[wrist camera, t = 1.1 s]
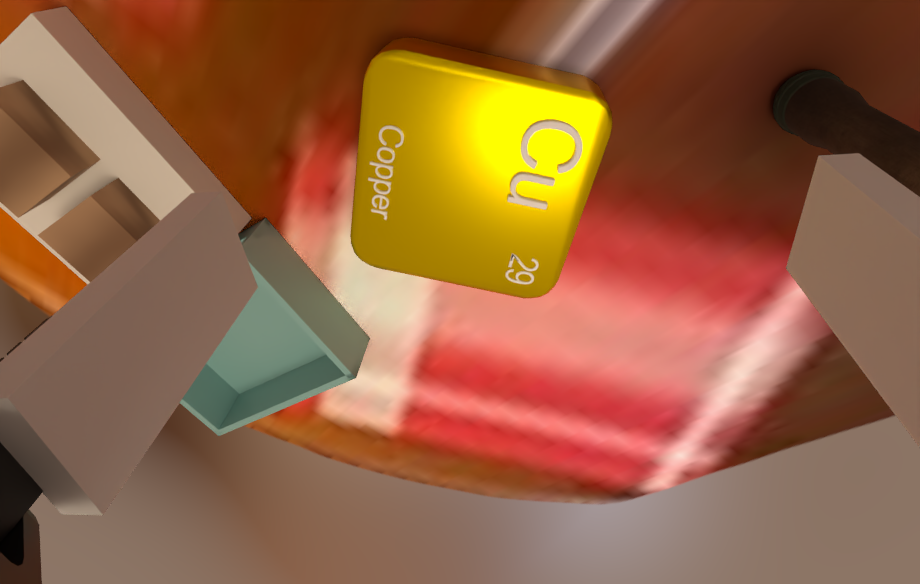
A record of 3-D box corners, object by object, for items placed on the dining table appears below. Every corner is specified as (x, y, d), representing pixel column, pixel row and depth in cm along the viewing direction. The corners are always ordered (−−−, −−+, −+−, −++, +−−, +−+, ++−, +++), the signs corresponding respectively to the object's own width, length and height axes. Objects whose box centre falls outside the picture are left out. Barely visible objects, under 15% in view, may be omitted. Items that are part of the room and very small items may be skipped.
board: (-48, 117, 39) (-86, 130, 37) (66, 6, 34) (31, 13, 32) (136, 288, 47) (115, 309, 44) (251, 218, 42) (235, 236, 39)
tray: (133, 297, 48) (97, 333, 43) (265, 217, 42) (238, 250, 38) (241, 396, 54) (218, 435, 49) (369, 338, 48) (355, 377, 44)
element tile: (381, 28, 34) (363, 43, 30) (613, 80, 34) (625, 102, 31) (361, 234, 42) (345, 267, 39) (547, 273, 43) (550, 309, 39)
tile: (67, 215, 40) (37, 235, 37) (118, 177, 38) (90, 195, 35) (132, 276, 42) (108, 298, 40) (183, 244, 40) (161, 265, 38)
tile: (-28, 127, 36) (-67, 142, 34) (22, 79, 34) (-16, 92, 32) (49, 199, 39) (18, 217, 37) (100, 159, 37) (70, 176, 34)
